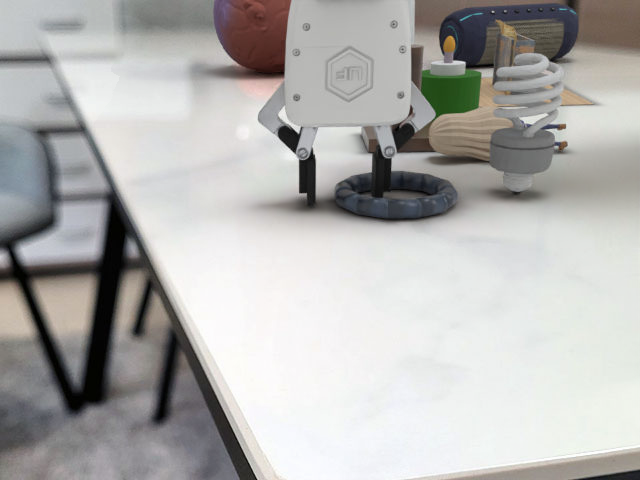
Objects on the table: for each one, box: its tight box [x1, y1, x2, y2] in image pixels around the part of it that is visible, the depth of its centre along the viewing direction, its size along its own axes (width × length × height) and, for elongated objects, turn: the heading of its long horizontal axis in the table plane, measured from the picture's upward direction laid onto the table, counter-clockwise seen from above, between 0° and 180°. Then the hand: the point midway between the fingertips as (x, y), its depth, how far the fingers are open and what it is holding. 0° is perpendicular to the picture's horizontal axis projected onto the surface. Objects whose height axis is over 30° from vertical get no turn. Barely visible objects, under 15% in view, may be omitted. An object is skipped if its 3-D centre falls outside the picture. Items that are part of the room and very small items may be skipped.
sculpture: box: [212, 0, 291, 74], centre depth 141 cm, size 20×20×20 cm
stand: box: [360, 44, 436, 153], centre depth 88 cm, size 9×9×10 cm
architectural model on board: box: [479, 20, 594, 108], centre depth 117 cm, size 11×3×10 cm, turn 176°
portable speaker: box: [438, 2, 579, 68], centre depth 143 cm, size 25×10×10 cm, turn 104°
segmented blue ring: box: [333, 170, 459, 220], centre depth 69 cm, size 10×10×2 cm
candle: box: [421, 36, 482, 121], centre depth 101 cm, size 8×8×10 cm
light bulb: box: [489, 53, 565, 195], centre depth 68 cm, size 6×6×12 cm
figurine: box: [428, 106, 568, 162], centre depth 82 cm, size 6×4×15 cm
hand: (343, 198), depth 70 cm, fingers open, 5 cm apart
